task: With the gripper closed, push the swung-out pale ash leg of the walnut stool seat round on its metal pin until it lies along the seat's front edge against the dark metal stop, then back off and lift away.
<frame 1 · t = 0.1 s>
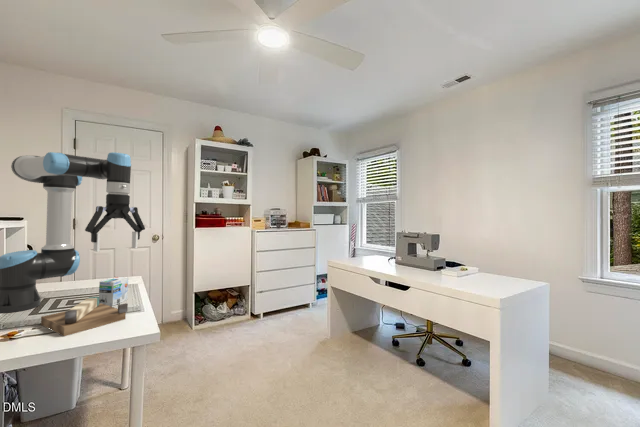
hand: (116, 249, 118), 28 cm above the table, fingers open, 13 cm apart
light bulb box: (113, 303, 141), on the table
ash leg: (82, 308, 117), point 5 cm above the table, hinge at 45.0°
walnut seat: (84, 321, 117), on the table
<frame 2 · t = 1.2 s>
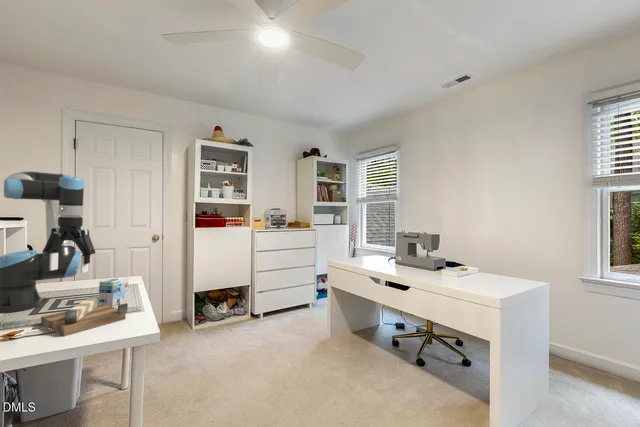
hand: (68, 271, 121), 18 cm above the table, fingers open, 12 cm apart
nothing on the table moved.
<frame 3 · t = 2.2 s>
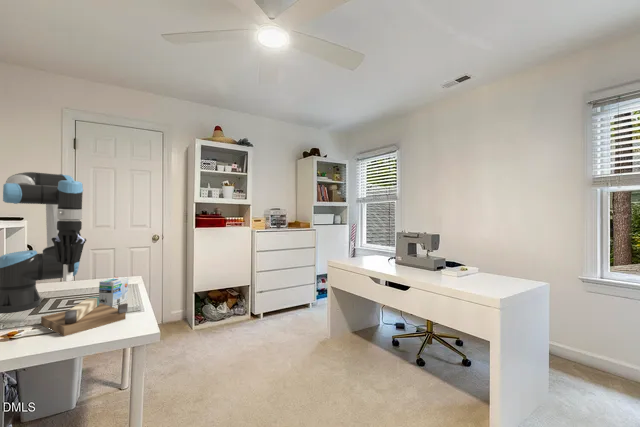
hand: (67, 280, 120), 15 cm above the table, fingers closed
nothing on the table moved.
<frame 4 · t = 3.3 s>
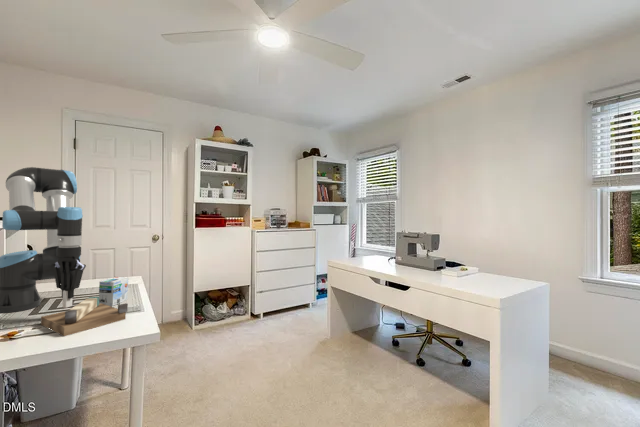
hand: (67, 306, 121), 4 cm above the table, fingers closed
nothing on the table moved.
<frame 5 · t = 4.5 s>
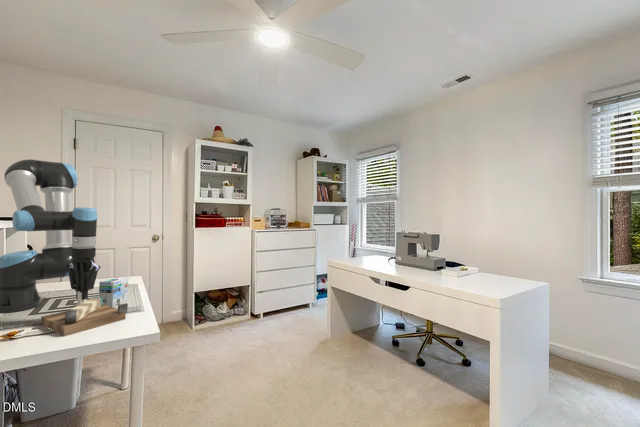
hand: (81, 307, 120), 4 cm above the table, fingers closed
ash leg: (84, 308, 117), point 5 cm above the table, hinge at 40.6°, touching gripper
everything else where it was.
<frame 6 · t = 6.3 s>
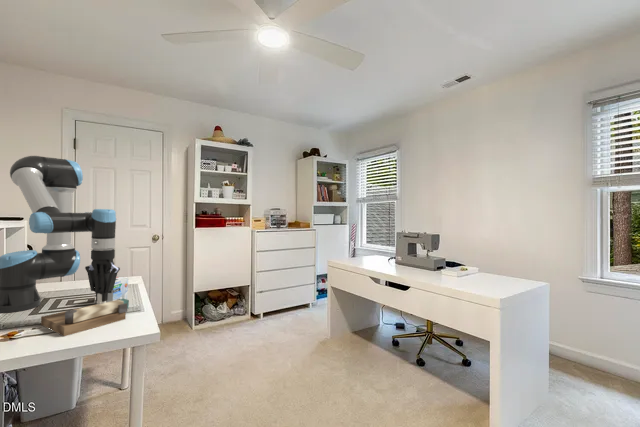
hand: (101, 309, 120), 4 cm above the table, fingers closed
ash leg: (98, 310, 116), point 5 cm above the table, hinge at 1.4°, touching gripper
everything else where it was.
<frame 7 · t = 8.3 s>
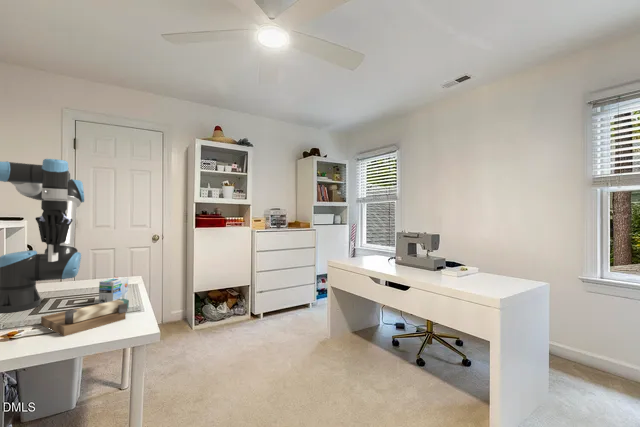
hand: (53, 261, 119), 22 cm above the table, fingers closed
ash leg: (98, 310, 116), point 5 cm above the table, hinge at 1.3°
everything else where it was.
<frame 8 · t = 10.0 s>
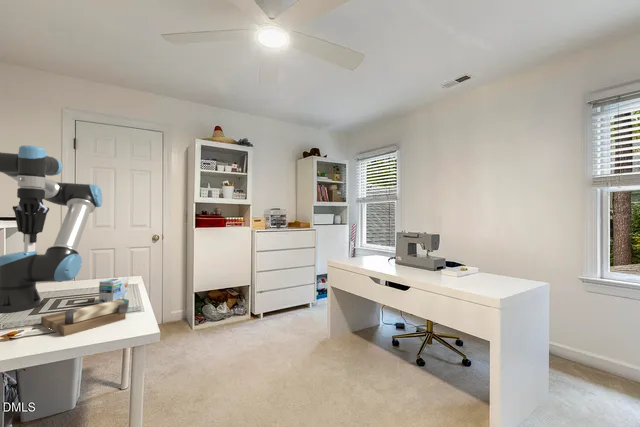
hand: (29, 251, 115), 26 cm above the table, fingers closed
nothing on the table moved.
at the end: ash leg at +1° (first picture: +45°); light bulb box moved 0.3 cm from its start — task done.
